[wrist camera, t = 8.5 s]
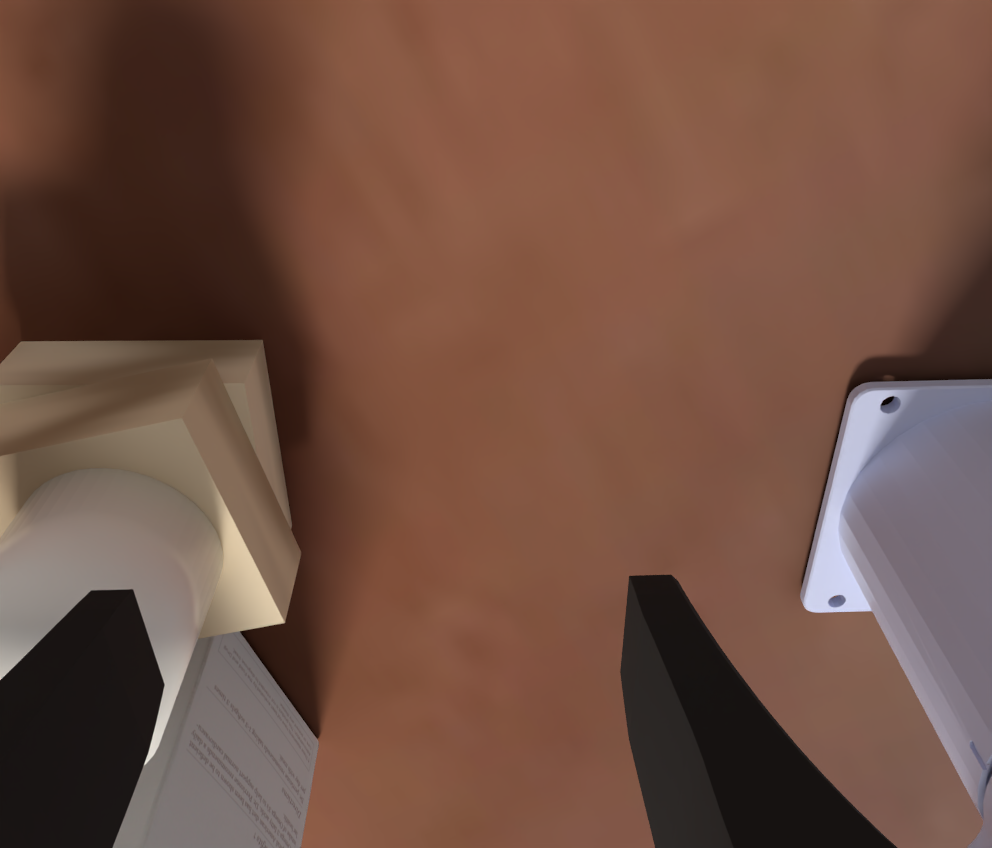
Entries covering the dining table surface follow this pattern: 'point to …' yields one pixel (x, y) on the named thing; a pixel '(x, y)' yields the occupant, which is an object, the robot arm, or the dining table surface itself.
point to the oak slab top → (165, 472)
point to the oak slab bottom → (98, 361)
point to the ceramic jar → (110, 565)
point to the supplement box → (225, 760)
